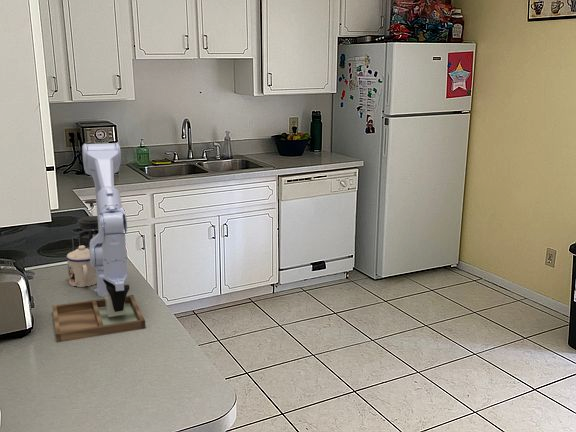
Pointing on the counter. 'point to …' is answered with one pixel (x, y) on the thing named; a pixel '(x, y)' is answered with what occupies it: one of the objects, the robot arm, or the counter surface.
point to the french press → (87, 226)
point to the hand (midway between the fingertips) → (117, 307)
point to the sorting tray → (94, 319)
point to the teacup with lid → (81, 268)
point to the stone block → (110, 308)
